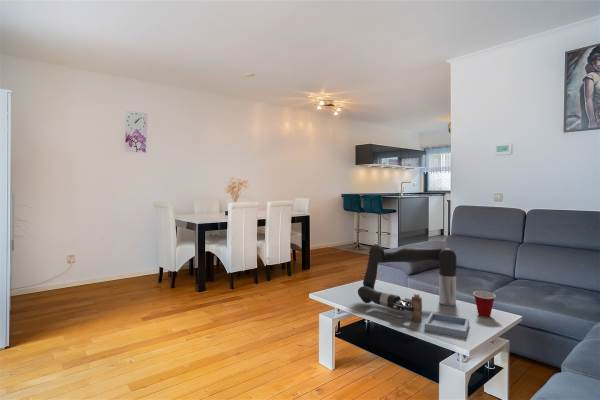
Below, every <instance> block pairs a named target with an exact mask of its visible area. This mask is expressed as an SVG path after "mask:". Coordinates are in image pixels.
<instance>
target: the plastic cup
mask: <svg viewBox="0 0 600 400" xmlns="http://www.w3.org/2000/svg"><path fill="white" fill-rule="evenodd" d="M472 293H473V294H472V295H473V296H474V300H475V306H476V310H477V314H478V316H480V317H483V318H490V317H491V316H492V309H493V306H494V305H493V304H494V300H495V299H496V297H497V296H496V294H494V293H493V292H489V291H487V290H486V291H484V290H476V291H473V292H472Z"/></svg>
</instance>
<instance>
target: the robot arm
mask: <svg viewBox="0 0 600 400" xmlns="http://www.w3.org/2000/svg"><path fill="white" fill-rule="evenodd" d="M429 261H430V262H439V263H438V264H439V266H438V267H439V269H438V270H439V271H438V273H439V274H438V276H439V277H438V279H439V282H438V285H439V286H438V289H439V290H438V293H439V294H438V297H439V298H438V301H439V304H441V305H442V306H448V307H449V306H450V307H451V306H452V307H453V306H456V305H457V304H456V303H457V254H456V252H455V251H454V249H452V248H449V247H441V248H423V247H403V248H401V249H399V250H395V251H393V252H385V249H384V247H383V246H382V245H381V244H379V243H375V244H373V245H371V246H370V247H369V254H368V262H367V266H366V269H365V274H364V277H363V280H362V285H363V286H360V287H359V288H358V290H357V295H358V297H359V298H360V299H361V301H362V302H363V303H365V304H370V303H371V302H373V303H374V304H375V305H380V306H383V307H385V308H387V309H392V310H396V311H399V312H400V311H401V312H404V311H406V312H407V311H408V312H411V313H412V312H414V307H412V298H411V299H410V298H407V297H406V298H403V299H401V296H399V295H397V294H393V293H389V292H388V293H387V292H381V291H377V290H376V289H375V284H376V281H377V277H378V276H377V275H378V266H379V264H383V263H385V264H386V263H410V264H412V263H424V262H429Z"/></svg>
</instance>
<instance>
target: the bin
mask: <svg viewBox="0 0 600 400" xmlns="http://www.w3.org/2000/svg"><path fill="white" fill-rule="evenodd" d="M469 326H470V319H469V318H467V317H460V316H454V315H449V314H444V313H443V314H442V313H438V312H430V314H429V316H428V318H427V319H426V321H425V322H424V331H428V332H432V333H438V334H442V335H449V336H453V337H459V338H463V339H466V338H467V335H468V330H469Z"/></svg>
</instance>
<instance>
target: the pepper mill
mask: <svg viewBox="0 0 600 400" xmlns="http://www.w3.org/2000/svg"><path fill="white" fill-rule="evenodd" d="M411 300H412V306H411V307H414V312H411V321H412V322H414V323H422V322H423V321H422V319H423V317H422V316H423V309H422V308H423V303H422V302H423V298H422V297H421V296H420V294H418V293H414V294H413V296H411Z"/></svg>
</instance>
